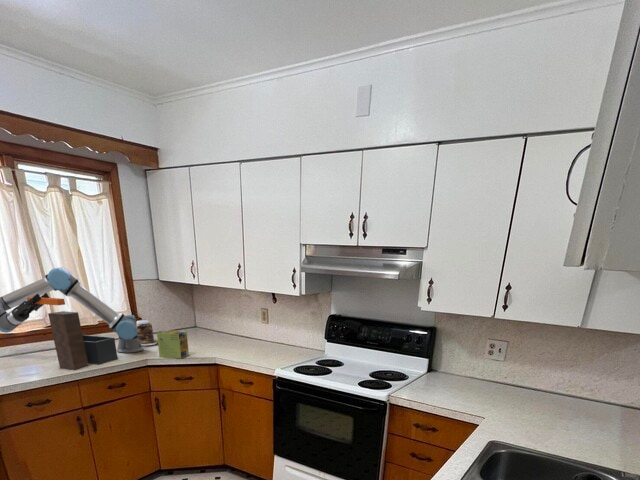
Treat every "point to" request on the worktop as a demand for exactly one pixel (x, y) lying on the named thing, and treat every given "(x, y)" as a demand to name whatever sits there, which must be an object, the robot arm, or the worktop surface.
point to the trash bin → (99, 349)
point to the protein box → (172, 344)
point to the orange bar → (49, 301)
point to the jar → (145, 331)
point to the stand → (68, 340)
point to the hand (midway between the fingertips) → (43, 295)
